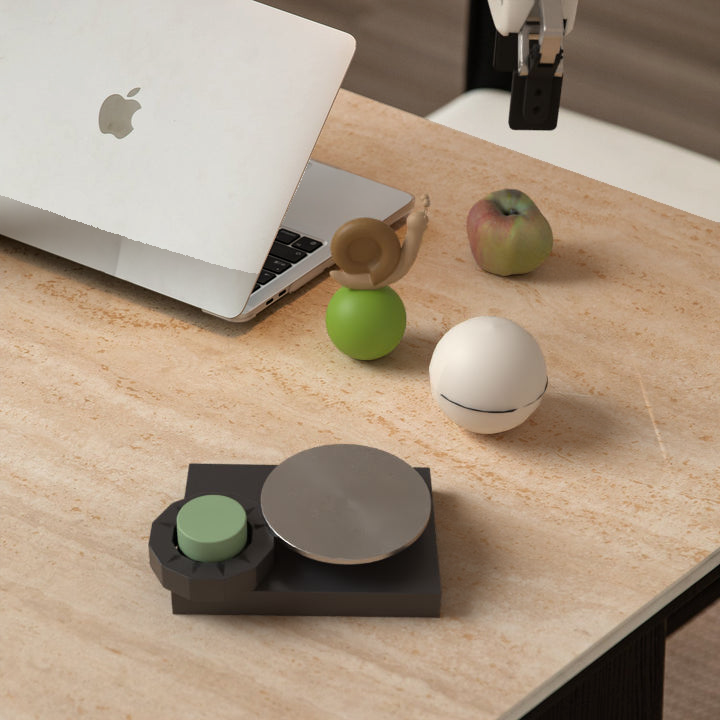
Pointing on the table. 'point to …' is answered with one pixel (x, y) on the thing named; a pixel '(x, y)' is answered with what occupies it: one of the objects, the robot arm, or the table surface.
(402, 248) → the snail figurine
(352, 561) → the weighing pan
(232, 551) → the tare button
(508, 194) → the apple
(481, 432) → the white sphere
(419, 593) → the scale
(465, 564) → the table surface
